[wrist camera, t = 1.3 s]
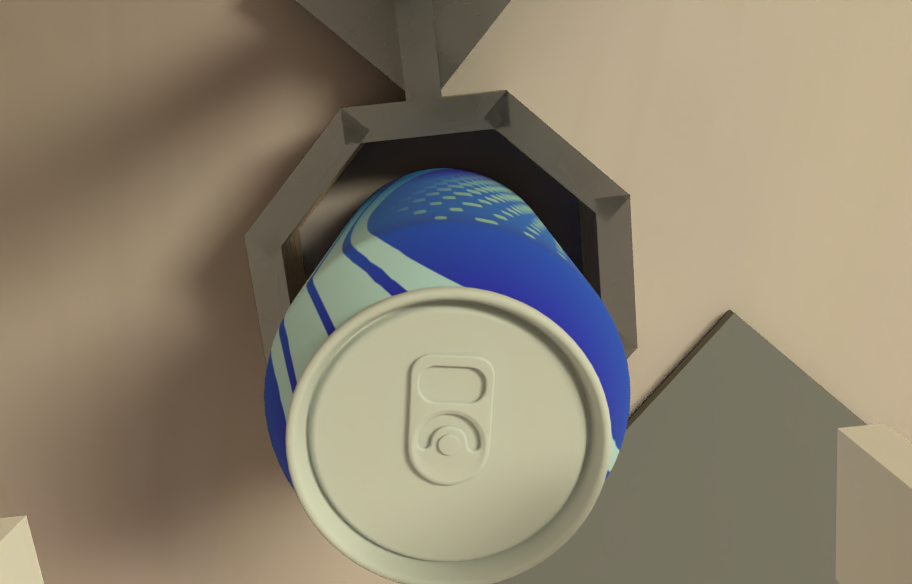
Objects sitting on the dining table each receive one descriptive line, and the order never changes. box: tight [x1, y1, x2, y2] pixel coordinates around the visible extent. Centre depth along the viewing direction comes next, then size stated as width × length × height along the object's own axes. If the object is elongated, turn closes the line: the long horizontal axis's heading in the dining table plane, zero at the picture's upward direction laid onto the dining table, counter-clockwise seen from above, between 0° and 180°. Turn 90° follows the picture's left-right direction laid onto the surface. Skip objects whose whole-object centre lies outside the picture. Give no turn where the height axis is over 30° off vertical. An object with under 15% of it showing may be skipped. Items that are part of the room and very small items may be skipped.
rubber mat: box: [493, 310, 867, 584], centre depth 34 cm, size 16×16×1 cm
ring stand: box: [244, 0, 637, 366], centre depth 21 cm, size 18×18×20 cm
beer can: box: [264, 168, 630, 584], centre depth 24 cm, size 8×8×16 cm
